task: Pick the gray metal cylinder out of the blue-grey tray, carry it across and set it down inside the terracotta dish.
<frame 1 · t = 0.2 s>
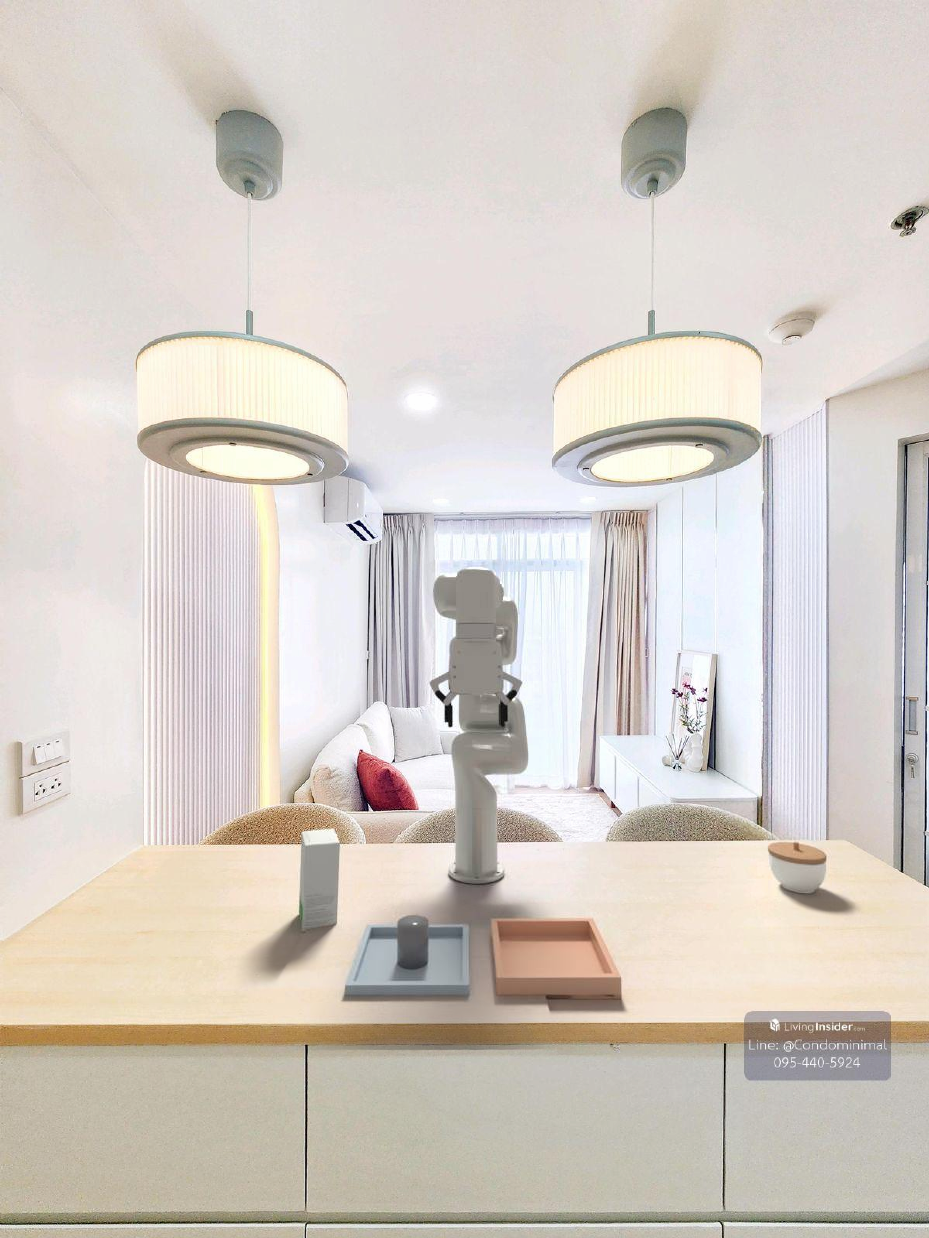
hand: (476, 726, 104), 36 cm above the table, tool pointing down, fingers open, 9 cm apart
gray metal cylinder: (412, 960, 90), point 1 cm above the table, touching parts tray
skincare box: (318, 921, 105), on the table
lidded jar: (797, 888, 119), on the table
parts tray: (412, 964, 90), on the table
terracotta dish: (549, 964, 90), on the table
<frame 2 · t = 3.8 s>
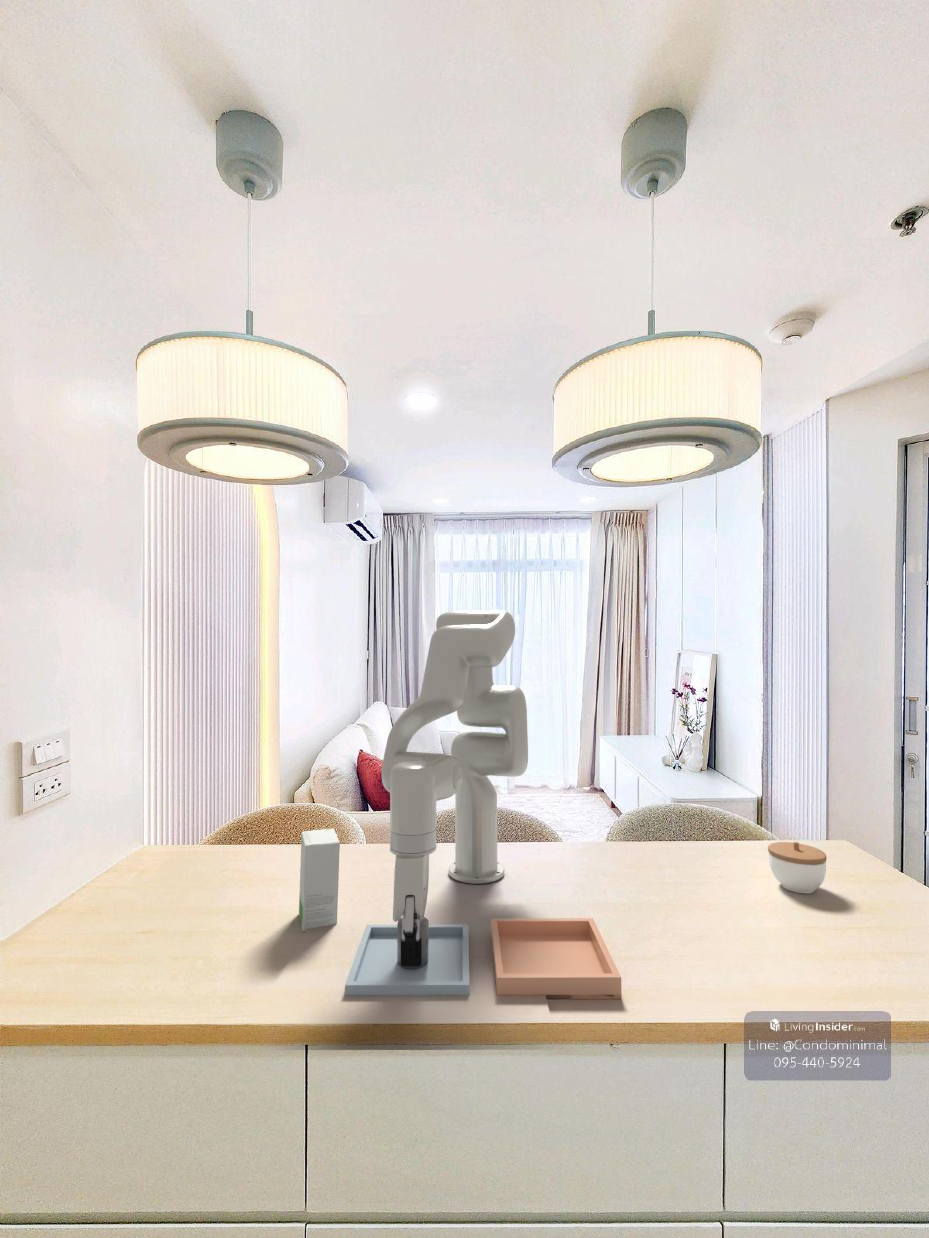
hand: (412, 953, 90), 2 cm above the table, tool pointing down, fingers closed on gray metal cylinder, 5 cm apart
gray metal cylinder: (412, 960, 90), point 1 cm above the table, touching gripper, parts tray
everything else where it was.
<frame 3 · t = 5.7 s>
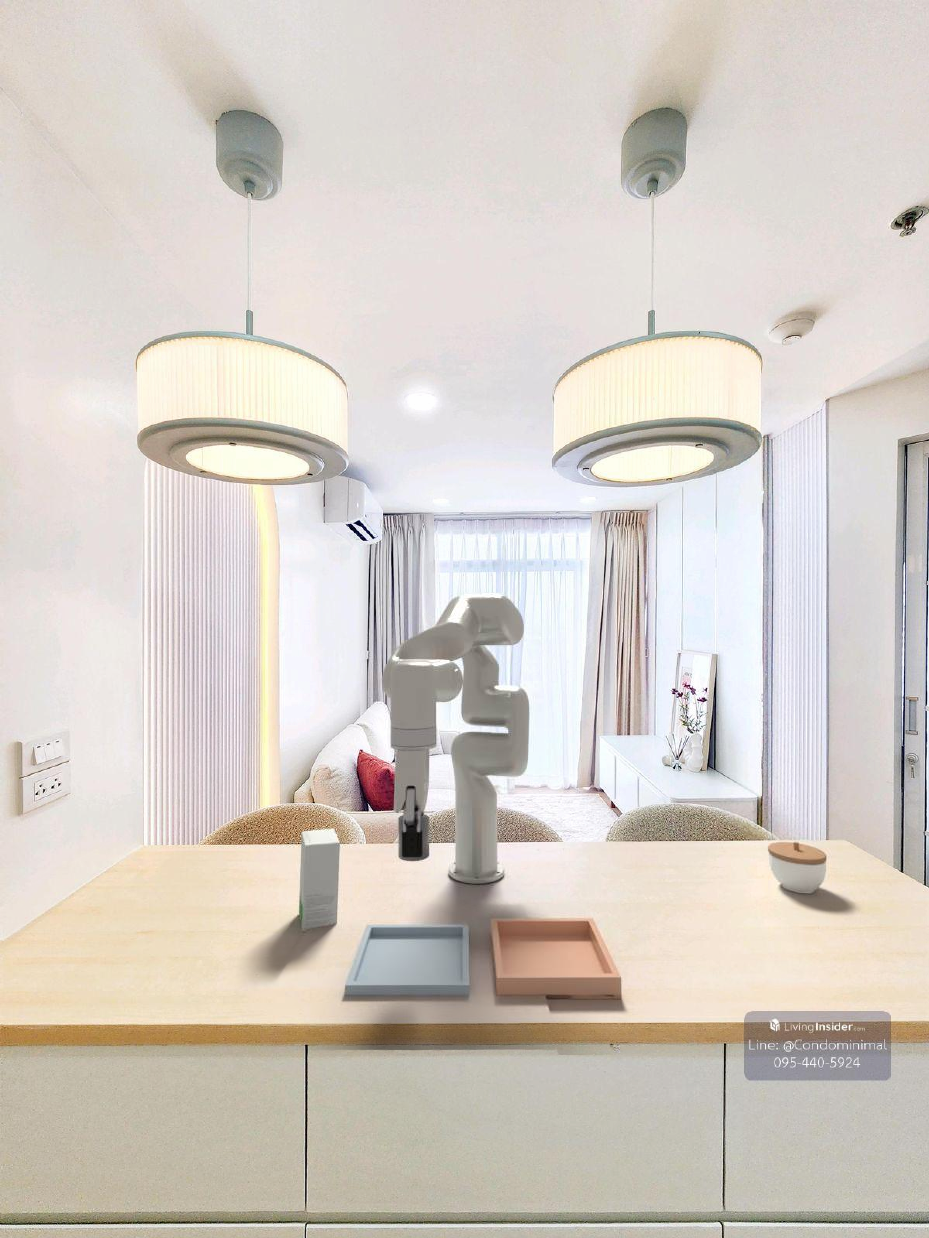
hand: (413, 848, 92), 18 cm above the table, tool pointing down, fingers closed on gray metal cylinder, 5 cm apart
gray metal cylinder: (413, 855, 91), point 17 cm above the table, touching gripper
everything else where it was.
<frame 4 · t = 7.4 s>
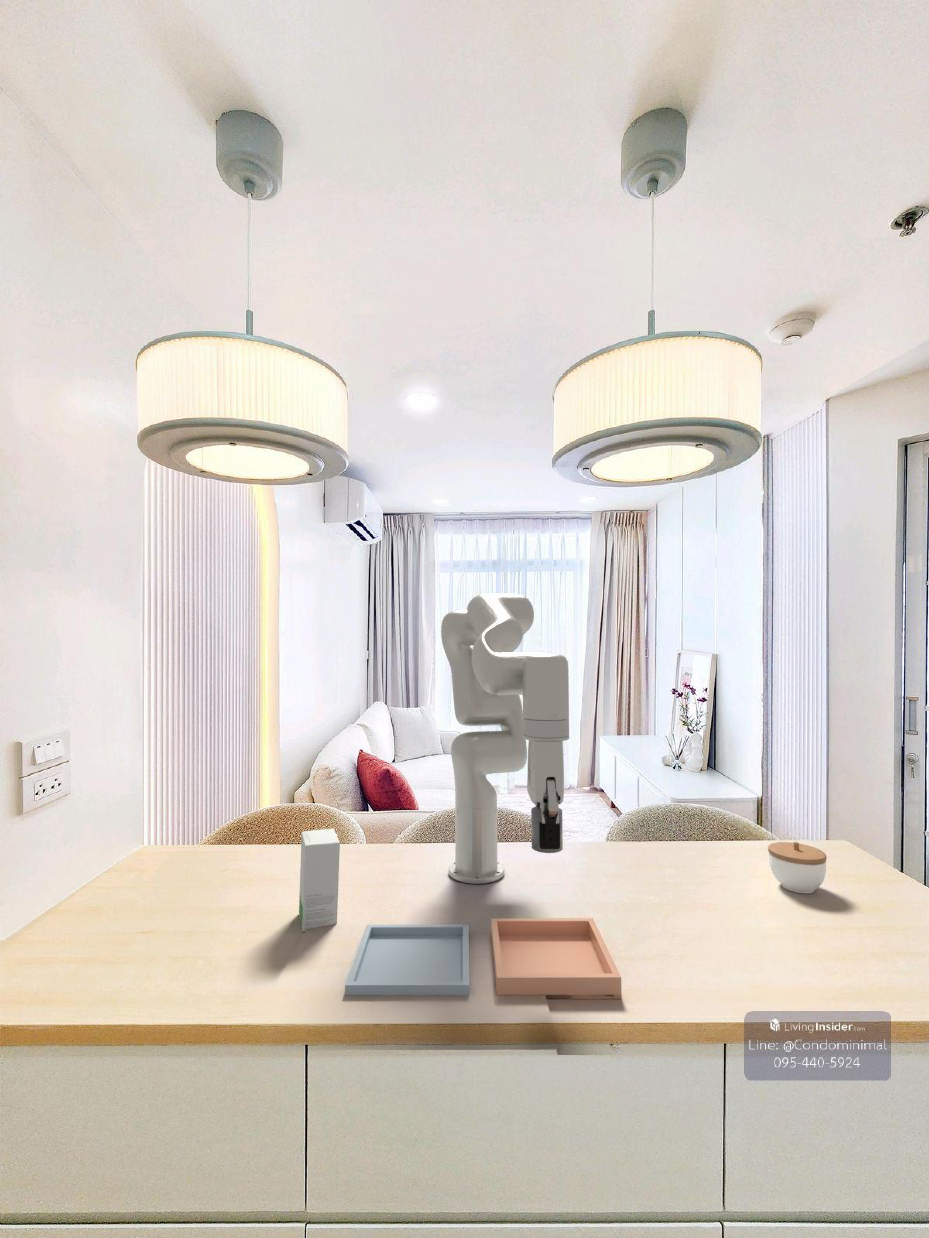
hand: (547, 840, 91), 19 cm above the table, tool pointing down, fingers closed on gray metal cylinder, 5 cm apart
gray metal cylinder: (547, 847, 91), point 18 cm above the table, touching gripper
everything else where it was.
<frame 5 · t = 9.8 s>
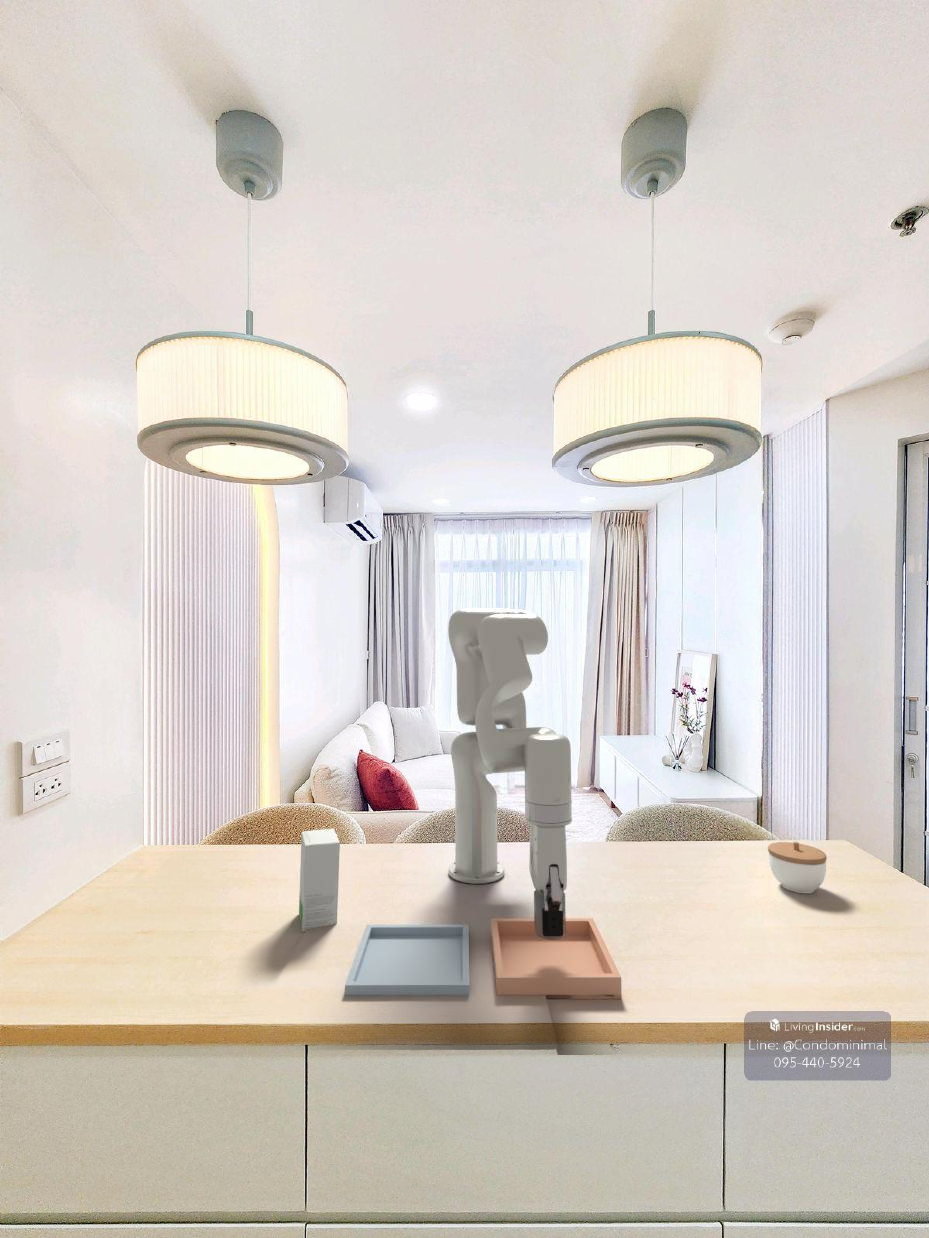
hand: (550, 925, 90), 6 cm above the table, tool pointing down, fingers closed on gray metal cylinder, 5 cm apart
gray metal cylinder: (550, 931, 90), point 5 cm above the table, touching gripper
everything else where it was.
when the fingers open (3 cm above the table, at t = 11.4 s): gray metal cylinder drops 1 cm, resting on terracotta dish.
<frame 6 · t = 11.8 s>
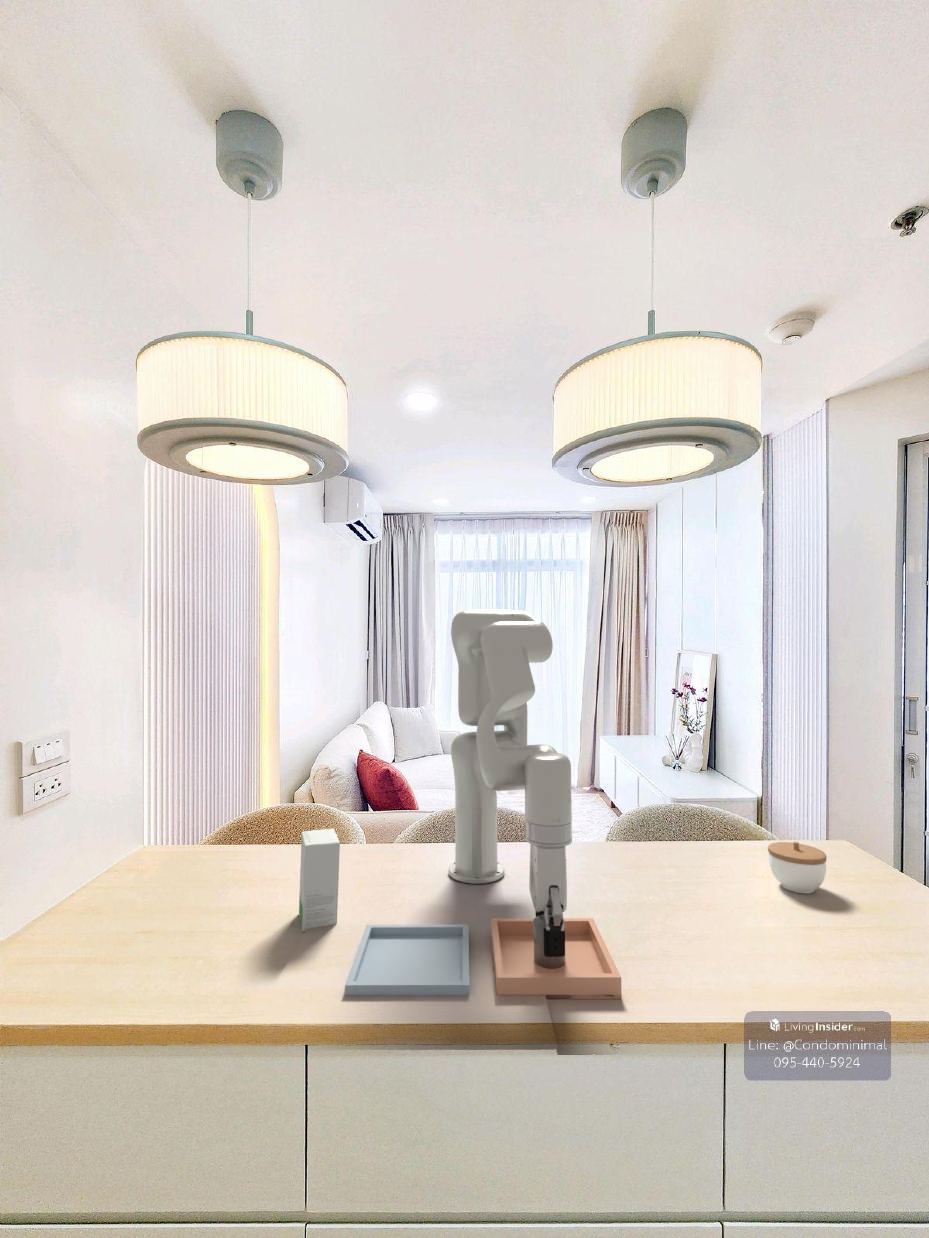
hand: (549, 939, 90), 4 cm above the table, tool pointing down, fingers open, 9 cm apart
gray metal cylinder: (549, 959, 90), point 1 cm above the table, touching terracotta dish
everything else where it was.
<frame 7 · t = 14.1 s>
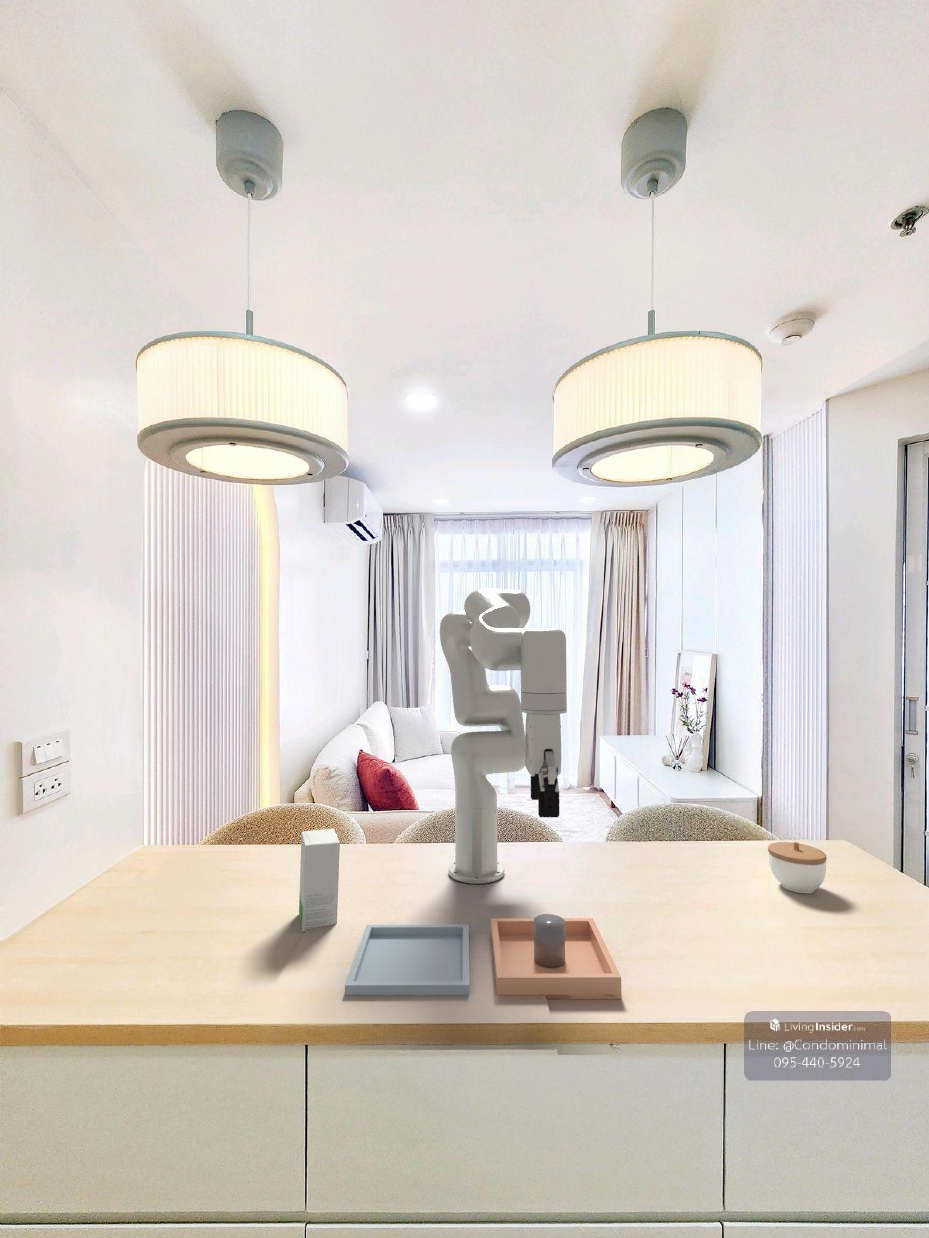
hand: (544, 807, 92), 24 cm above the table, tool pointing down, fingers open, 9 cm apart
nothing on the table moved.
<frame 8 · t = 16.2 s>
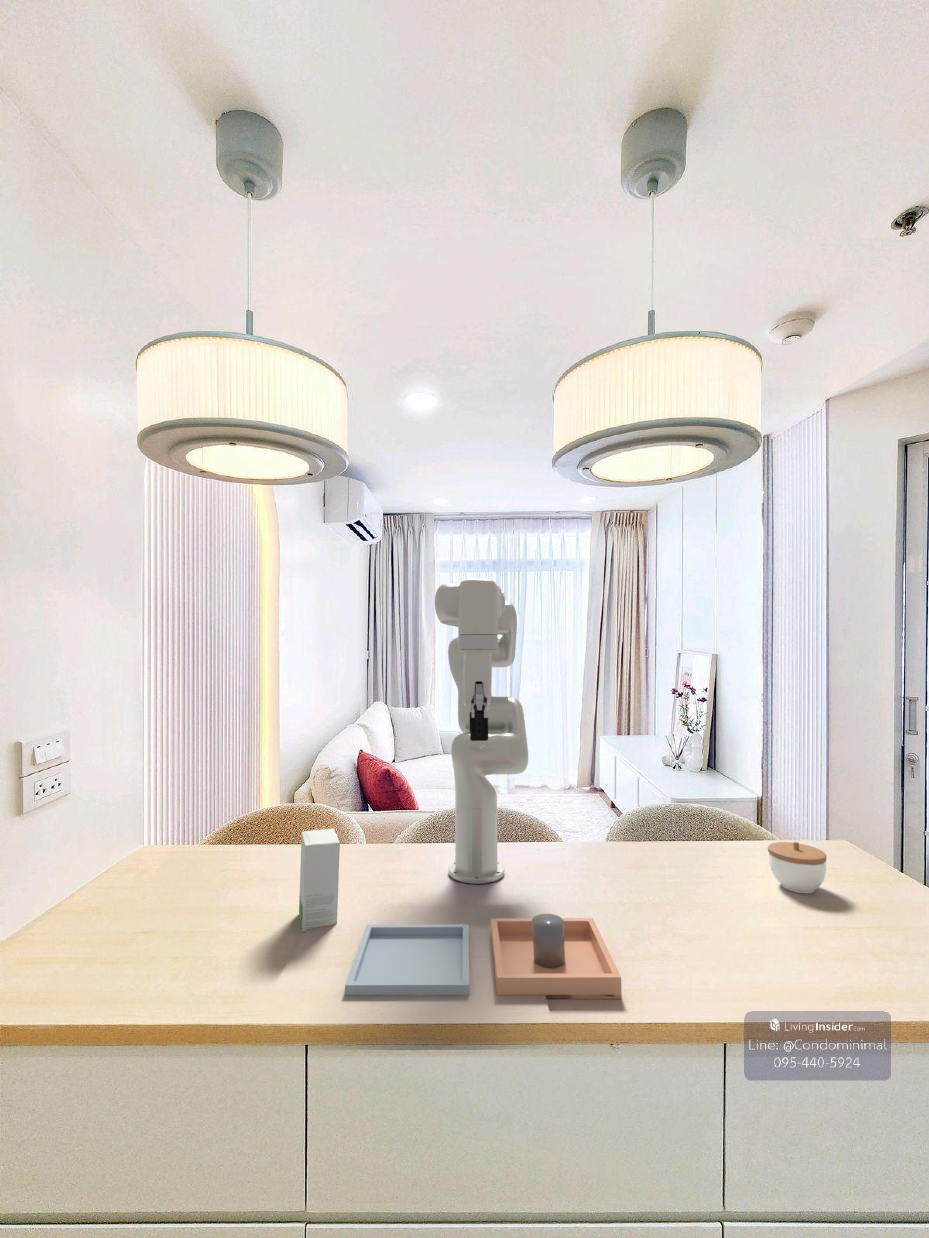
hand: (478, 736, 105), 34 cm above the table, tool pointing down, fingers open, 9 cm apart
nothing on the table moved.
at the end: gray metal cylinder inside the target area on the terracotta dish (0.1 cm from its centre), point 0.7 cm above the terracotta dish's base; the gripper is holding nothing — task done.
